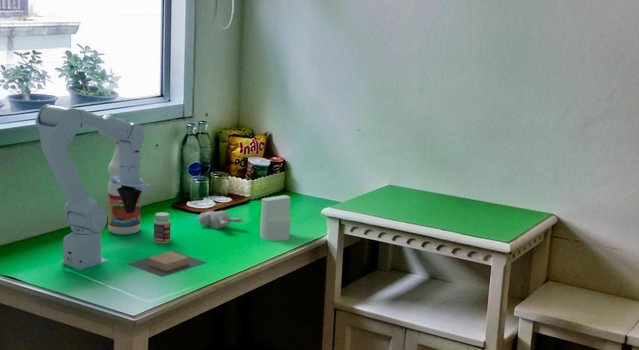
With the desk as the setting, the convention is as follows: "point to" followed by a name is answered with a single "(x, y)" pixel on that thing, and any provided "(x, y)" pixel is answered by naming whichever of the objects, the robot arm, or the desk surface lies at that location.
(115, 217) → the fruit juice
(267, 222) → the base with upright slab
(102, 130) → the robot arm
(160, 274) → the mat
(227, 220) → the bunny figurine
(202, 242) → the desk surface
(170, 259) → the block
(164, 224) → the pill bottle
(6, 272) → the desk surface
